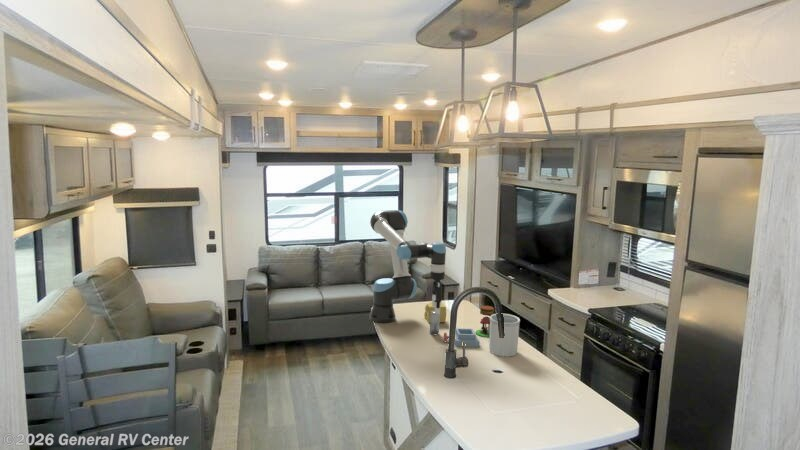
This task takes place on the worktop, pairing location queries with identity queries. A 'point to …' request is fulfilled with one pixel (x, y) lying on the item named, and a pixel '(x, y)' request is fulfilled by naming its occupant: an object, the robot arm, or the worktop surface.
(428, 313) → the cheese
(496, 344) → the utensil holder
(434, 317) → the pipe stub
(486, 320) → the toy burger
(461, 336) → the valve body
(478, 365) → the worktop surface
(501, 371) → the worktop surface
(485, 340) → the worktop surface
